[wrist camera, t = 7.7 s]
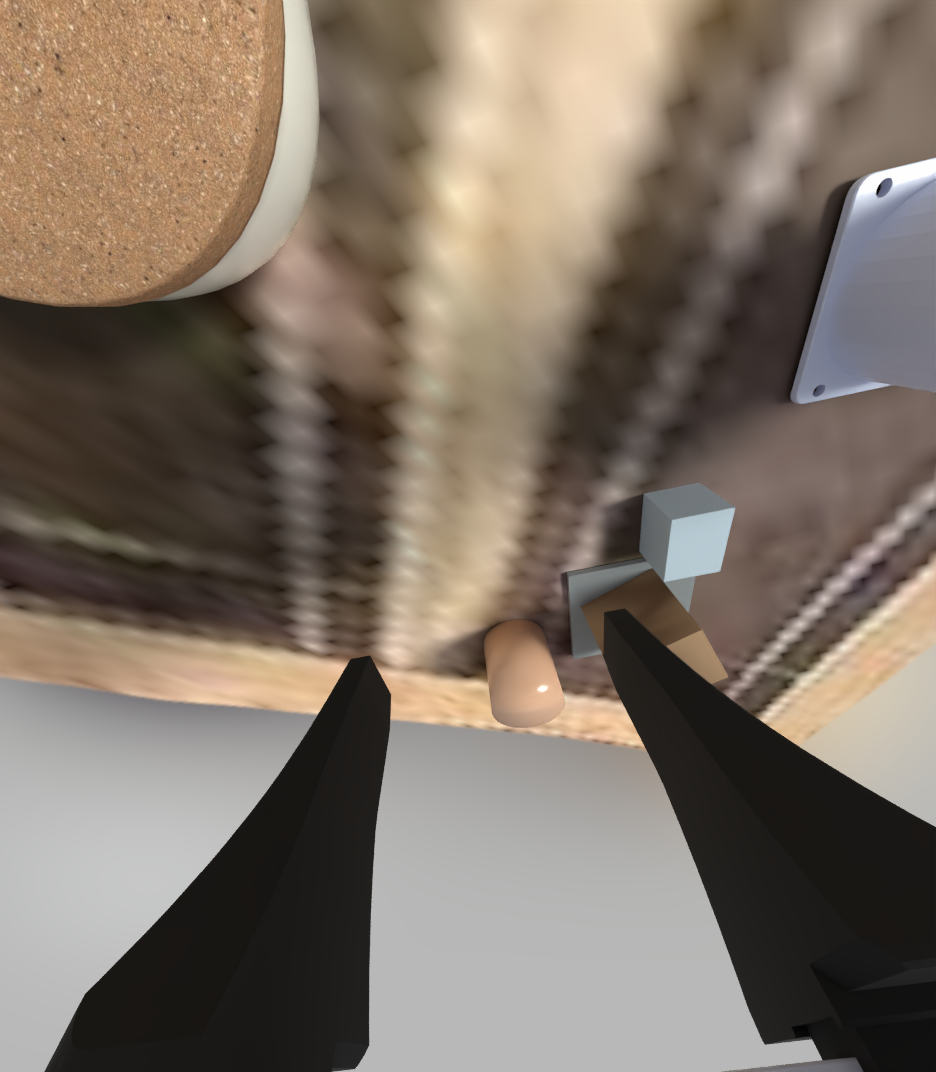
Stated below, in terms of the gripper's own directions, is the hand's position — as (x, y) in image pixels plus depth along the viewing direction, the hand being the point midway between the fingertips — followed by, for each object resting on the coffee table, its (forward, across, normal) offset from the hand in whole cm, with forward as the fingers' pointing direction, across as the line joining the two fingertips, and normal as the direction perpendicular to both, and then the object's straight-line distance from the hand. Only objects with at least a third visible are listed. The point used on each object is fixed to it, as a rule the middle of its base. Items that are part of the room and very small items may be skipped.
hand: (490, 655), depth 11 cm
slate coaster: (+10, -9, +10) cm, 17 cm away
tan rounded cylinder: (+10, -1, +12) cm, 15 cm away
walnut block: (+10, -9, +10) cm, 16 cm away
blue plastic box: (+10, -11, +4) cm, 15 cm away
